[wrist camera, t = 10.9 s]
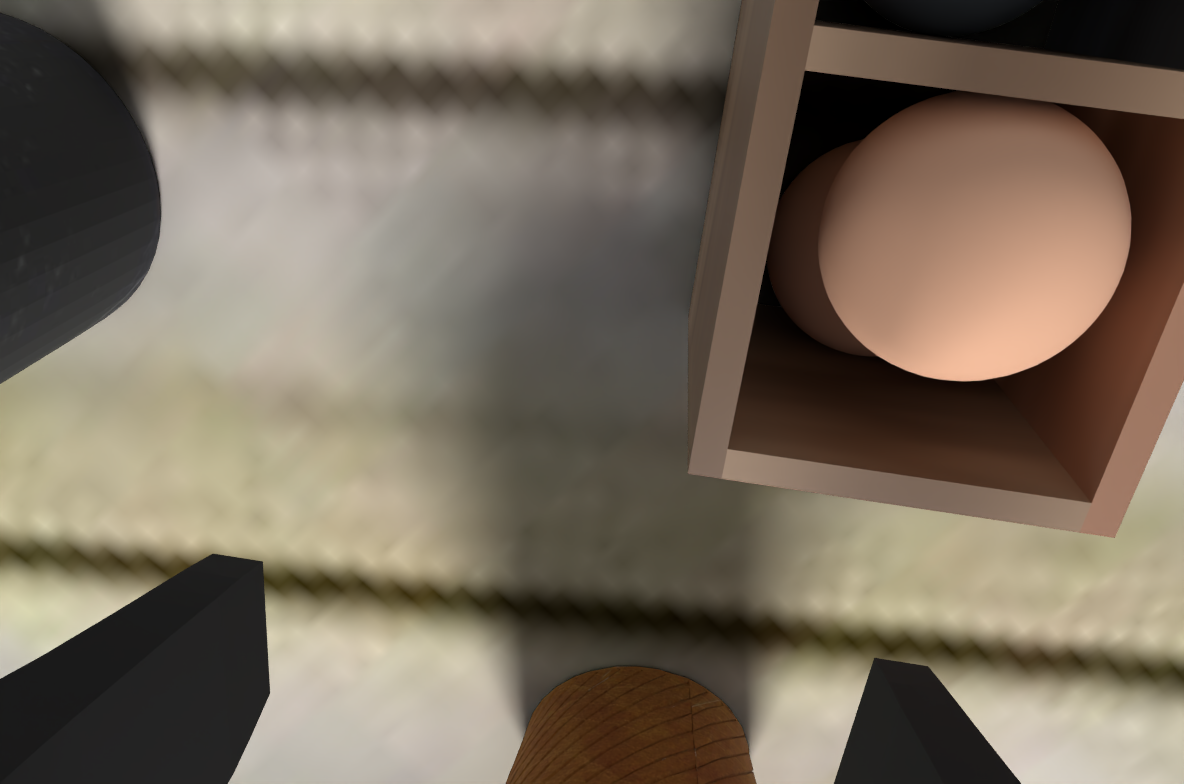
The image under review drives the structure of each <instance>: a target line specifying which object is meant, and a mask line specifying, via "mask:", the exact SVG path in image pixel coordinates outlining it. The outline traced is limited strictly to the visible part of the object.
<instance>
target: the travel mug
mask: <svg viewBox="0 0 1184 784" xmlns="http://www.w3.org/2000/svg"><path fill="white" fill-rule="evenodd" d="M160 220H161V212H160V195H159V190H158V184H157V179H156V174H155V171H154V167H153V164H152V161H151V157H150V154H149V152H148V150H147V147H146V145H145V143H144V140H143V138H142V135H141V133H140V131H139V130H138V128H137V126H136V124H135V122H134V121H133V119H132V117H131V115H130V113H129V112H128V110H127V109H126V107H125V106H124V105H123V103H122V102H121V100H120V99H119V97H118V96H117V94H116V93H115V92H114V91H113V89H112V88H111V87H110V86H109V85H108V84H107V83H106V81H105V80H104V79H103V78H102V77H101V76H100V74H99V73H98V72H97V71H95V70H94V69H93V68H92V67H91V66H90V65H89V64H88V63H87V62H86V61H85V60H84V59H83V58H82V57H81V56H79V55H78V54H77V53H75V52H74V51H73V50H71V49H70V48H69V47H68V46H66V45H65V44H64V43H62V42H61V41H59V40H58V39H56V38H54V37H53V36H51V35H49V34H48V33H46V32H44V31H43V30H41V29H39V28H37V27H35V26H32V25H30V24H28V23H26V22H24V21H22V20H19V19H17V18H14V17H11V16H8V15H4V14H1V13H0V384H1V383H3V382H4V381H6V380H7V379H9V378H11V377H12V376H14V375H15V374H17V373H19V372H20V371H22V370H24V369H25V368H27V367H28V366H30V365H32V364H33V363H35V362H36V361H38V360H40V359H41V358H43V357H45V356H46V355H48V354H49V353H51V352H53V351H54V350H56V349H57V348H59V347H61V346H62V345H64V344H66V343H67V342H69V341H70V340H72V339H74V338H75V337H77V336H78V335H80V334H81V333H83V332H84V331H86V330H88V329H89V328H91V327H92V326H94V325H95V324H97V323H98V322H100V321H101V320H103V319H105V318H106V317H107V316H109V315H110V314H111V313H113V312H114V311H115V310H117V309H118V308H119V307H120V306H121V305H123V304H124V303H125V302H126V301H127V300H128V299H129V298H130V297H131V296H132V294H133V293H134V292H135V291H136V290H137V288H138V287H139V286H140V284H141V282H142V281H143V279H144V277H145V276H146V274H147V272H148V271H149V268H150V266H151V263H152V261H153V258H154V256H155V253H156V248H157V244H158V239H159V233H160Z"/></svg>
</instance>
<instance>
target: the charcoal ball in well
mask: <svg viewBox="0 0 1184 784" xmlns="http://www.w3.org/2000/svg"><path fill="white" fill-rule="evenodd" d="M864 1H865V2H866V3H867V4H868V5H869V6H870V7H871V8H872V9H873V10H875V11H876V12H877V13H879V14H880V15H881V16H883V17H884V18H885V19H887V20H889V21H890V22H892V23H894V24H896V25H898V26H900V27H902V28H904V29H907V30H910V31H913V32H916V33H921V34H926V35H934V36H962V35H969V34H974V33H979V32H983V31H986V30H989V29H993V28H996V27H998V26H1000V25H1003V24H1005V23H1007V22H1010V21H1012V20H1014V19H1015V18H1017V17H1019V16H1021V15H1022V14H1024V13H1026V12H1028V11H1029V10H1030V9H1032V8H1033V7H1035V6H1036V5H1038V4H1039V3H1040V2H1042V1H1043V0H864Z"/></svg>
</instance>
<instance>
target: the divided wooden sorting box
mask: <svg viewBox="0 0 1184 784" xmlns="http://www.w3.org/2000/svg"><path fill="white" fill-rule="evenodd" d="M818 3H819V0H742V3H741V9H740V15H739V20H738V26H737V32H736V38H735V44H734V50H733V56H732V62H731V68H730V73H729V79H728V85H727V91H726V97H725V103H724V109H723V115H722V121H721V126H720V132H719V138H718V144H717V150H716V156H715V162H714V168H713V174H712V179H711V185H710V191H709V197H708V203H707V209H706V215H705V221H704V227H703V232H702V238H701V244H700V250H699V256H698V262H697V268H696V274H695V280H694V285H693V291H692V297H691V303H690V309H689V315H688V474H692V475H699V476H706V477H713V478H719V479H726V480H733V481H739V482H746V483H753V484H759V485H766V486H773V487H779V488H786V489H793V490H799V491H806V492H813V493H819V494H826V495H833V496H839V497H846V498H853V499H860V500H866V501H873V502H880V503H886V504H893V505H900V506H906V507H913V508H920V509H926V510H933V511H940V512H946V513H953V514H960V515H966V516H973V517H980V518H986V519H993V520H1000V521H1006V522H1013V523H1020V524H1027V525H1033V526H1040V527H1047V528H1053V529H1060V530H1067V531H1073V532H1080V533H1087V534H1093V535H1100V536H1107V537H1113V538H1115V536H1116V533H1117V531H1118V529H1119V527H1120V524H1121V522H1122V520H1123V517H1124V515H1125V513H1126V511H1127V508H1128V506H1129V504H1130V501H1131V499H1132V497H1133V495H1134V492H1135V490H1136V488H1137V486H1138V483H1139V481H1140V479H1141V476H1142V474H1143V472H1144V470H1145V467H1146V465H1147V463H1148V460H1149V458H1150V456H1151V454H1152V451H1153V449H1154V447H1155V444H1156V442H1157V440H1158V438H1159V435H1160V433H1161V431H1162V428H1163V426H1164V424H1165V422H1166V419H1167V417H1168V415H1169V413H1170V410H1171V408H1172V406H1173V403H1174V401H1175V399H1176V397H1177V394H1178V392H1179V390H1180V387H1181V385H1182V383H1183V381H1184V0H1058V4H1057V7H1056V10H1055V13H1054V16H1053V20H1052V23H1051V26H1050V29H1049V33H1048V36H1047V39H1046V42H1045V46H1044V48H1036V47H1028V46H1020V45H1012V44H1004V43H996V42H988V41H980V40H972V39H964V38H956V37H948V36H934V35H926V34H921V33H916V32H908V31H901V30H893V29H885V28H877V27H869V26H861V25H853V24H845V23H837V22H829V21H821V20H815V18H816V13H817V8H818ZM805 70H806V71H813V72H821V73H829V74H837V75H845V76H852V77H860V78H868V79H876V80H883V81H891V82H899V83H907V84H915V85H922V86H930V87H938V88H946V89H954V90H961V91H969V92H977V93H985V94H993V95H1000V96H1008V97H1016V98H1024V99H1031V100H1039V101H1047V102H1051V103H1053V104H1055V105H1057V106H1059V107H1061V108H1063V109H1065V110H1066V111H1068V112H1069V113H1071V114H1072V115H1074V116H1075V117H1077V118H1078V119H1079V120H1081V121H1082V122H1083V123H1084V124H1086V125H1087V126H1088V127H1089V128H1090V129H1091V130H1092V131H1093V132H1094V133H1095V134H1096V135H1097V136H1098V138H1099V139H1100V140H1101V141H1102V142H1103V144H1104V145H1105V147H1106V148H1107V149H1108V151H1109V152H1110V154H1111V155H1112V157H1113V158H1114V160H1115V162H1116V164H1117V166H1118V168H1119V169H1120V172H1121V174H1122V177H1123V179H1124V182H1125V186H1126V190H1127V194H1128V198H1129V202H1130V209H1131V242H1130V248H1129V252H1128V257H1127V261H1126V265H1125V268H1124V272H1123V274H1122V276H1121V279H1120V281H1119V284H1118V286H1117V288H1116V290H1115V292H1114V294H1113V296H1112V298H1111V299H1110V301H1109V302H1108V304H1107V305H1106V307H1105V308H1104V310H1103V311H1102V312H1101V314H1100V315H1099V316H1098V318H1097V319H1096V320H1095V321H1094V323H1093V324H1092V325H1091V326H1090V327H1089V328H1088V329H1087V330H1086V331H1085V332H1084V333H1083V334H1082V335H1081V336H1080V337H1078V338H1077V339H1076V340H1075V341H1074V342H1073V343H1071V344H1070V345H1069V346H1067V347H1066V348H1065V349H1063V350H1062V351H1061V352H1059V353H1057V354H1056V355H1054V356H1052V357H1051V358H1049V359H1047V360H1045V361H1043V362H1042V363H1040V364H1038V365H1036V366H1033V367H1031V368H1028V369H1026V370H1023V371H1020V372H1017V373H1014V374H1011V375H1008V376H1003V377H998V378H992V379H986V380H980V381H952V380H940V379H934V378H929V377H924V376H921V375H918V374H915V373H912V372H909V371H906V370H904V369H902V368H900V367H897V366H895V365H893V364H891V363H889V362H887V361H886V360H884V359H882V358H880V357H879V356H876V357H869V356H858V355H853V354H848V353H845V352H841V351H838V350H835V349H832V348H830V347H828V346H826V345H823V344H821V343H820V342H818V341H816V340H815V339H813V338H812V337H810V336H809V335H808V334H806V333H805V332H804V331H803V330H801V329H800V328H799V327H798V326H797V325H796V324H795V323H794V322H793V321H792V320H791V318H790V317H789V316H788V315H787V313H786V312H785V310H784V309H783V308H782V307H778V306H771V305H764V304H757V302H758V297H759V293H760V288H761V283H762V278H763V273H764V268H765V263H766V258H767V253H768V248H769V243H770V239H771V234H772V229H773V224H774V219H775V214H776V209H777V204H778V199H779V194H780V190H781V185H782V180H783V175H784V170H785V165H786V160H787V155H788V150H789V145H790V140H791V136H792V131H793V126H794V121H795V116H796V111H797V106H798V101H799V96H800V91H801V87H802V82H803V77H804V72H805Z"/></svg>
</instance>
